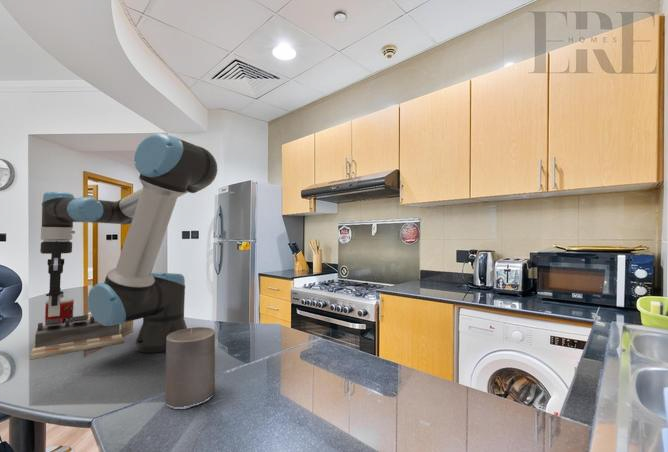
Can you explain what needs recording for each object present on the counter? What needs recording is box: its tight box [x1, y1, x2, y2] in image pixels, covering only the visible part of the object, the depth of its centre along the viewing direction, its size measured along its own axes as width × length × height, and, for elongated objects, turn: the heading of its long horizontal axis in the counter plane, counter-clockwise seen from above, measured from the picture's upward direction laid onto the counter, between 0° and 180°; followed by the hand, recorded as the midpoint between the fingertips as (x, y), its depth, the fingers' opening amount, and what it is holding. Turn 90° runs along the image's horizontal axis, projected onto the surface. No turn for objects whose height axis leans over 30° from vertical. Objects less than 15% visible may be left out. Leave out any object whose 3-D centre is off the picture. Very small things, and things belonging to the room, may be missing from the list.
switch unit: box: [29, 315, 125, 360], centre depth 102 cm, size 18×22×7 cm
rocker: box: [46, 318, 62, 325], centre depth 101 cm, size 9×4×1 cm, turn 41°
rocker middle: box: [73, 314, 89, 322], centre depth 105 cm, size 9×4×1 cm, turn 41°
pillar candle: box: [164, 326, 216, 407], centre depth 67 cm, size 10×10×15 cm
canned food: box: [44, 297, 75, 326], centre depth 117 cm, size 8×8×11 cm
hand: (53, 315), depth 98 cm, fingers closed
